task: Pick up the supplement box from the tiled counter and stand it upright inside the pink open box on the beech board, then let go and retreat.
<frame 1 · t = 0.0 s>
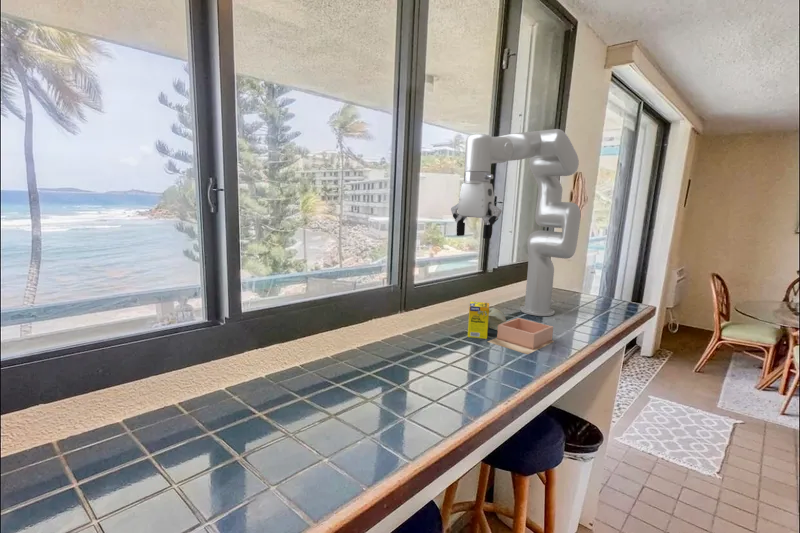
hand: (473, 236, 122), 31 cm above the table, fingers open, 9 cm apart
seashell: (488, 330, 135), on the table
beech board: (520, 345, 120), on the table
supplement box: (477, 339, 125), on the table
pink open box: (524, 340, 122), resting on beech board
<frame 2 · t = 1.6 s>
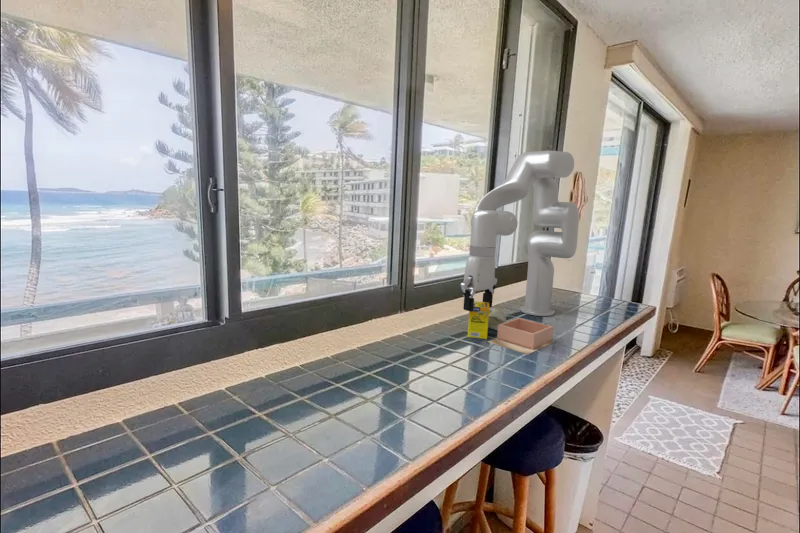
hand: (477, 308, 123), 10 cm above the table, fingers open, 9 cm apart
nothing on the table moved.
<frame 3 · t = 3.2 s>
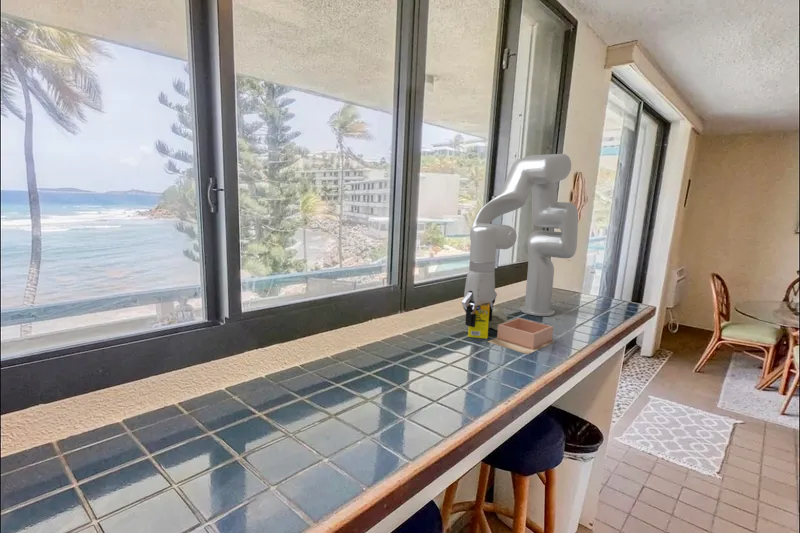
hand: (478, 322, 125), 5 cm above the table, fingers closed on supplement box, 8 cm apart
seashell: (489, 330, 134), on the table, touching gripper
supplement box: (477, 337, 126), on the table, touching gripper
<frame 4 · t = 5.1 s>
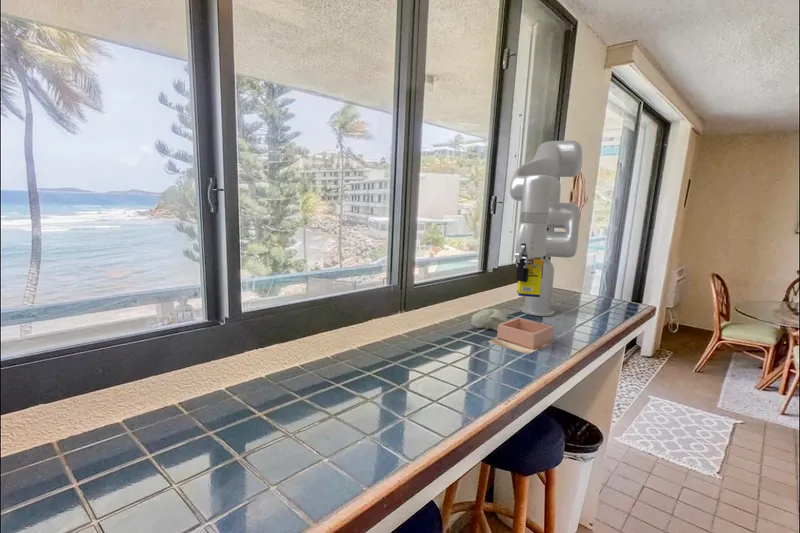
hand: (529, 279, 119), 20 cm above the table, fingers closed on supplement box, 8 cm apart
seashell: (490, 331, 133), on the table
supplement box: (528, 295, 119), point 15 cm above the table, touching gripper
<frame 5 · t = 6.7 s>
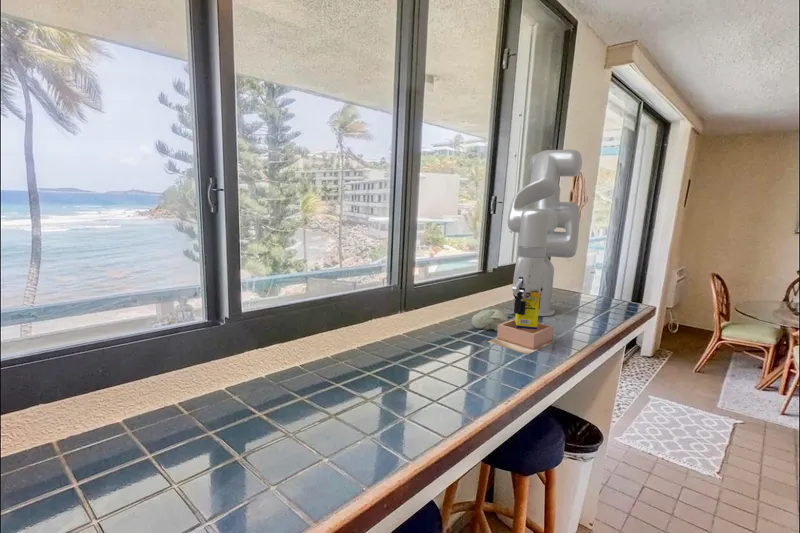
hand: (526, 311, 120), 10 cm above the table, fingers closed on supplement box, 8 cm apart
supplement box: (525, 326, 121), point 5 cm above the table, touching gripper
everything else where it was.
when the fingers open (7 cm above the table, at t = 7.8 s): supplement box stays where it is, resting on pink open box.
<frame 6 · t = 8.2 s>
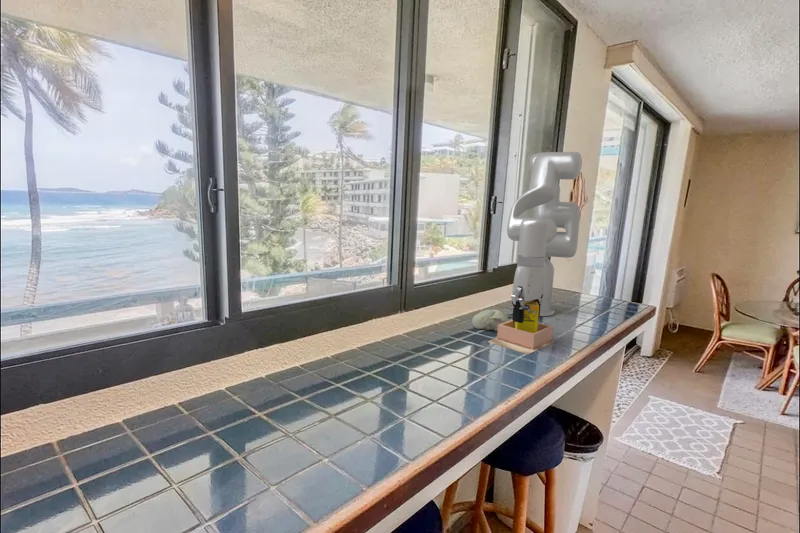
hand: (526, 318, 120), 8 cm above the table, fingers open, 9 cm apart
seashell: (491, 332, 133), on the table, touching beech board
supplement box: (525, 338, 122), point 2 cm above the table, touching pink open box
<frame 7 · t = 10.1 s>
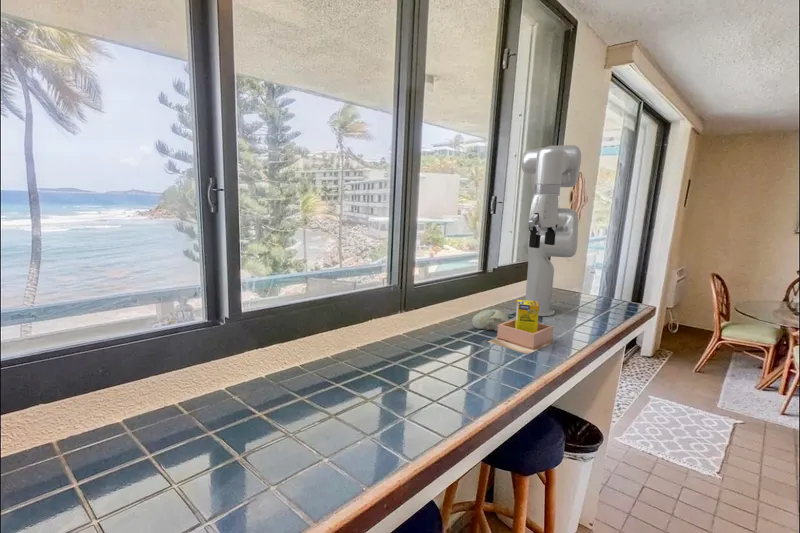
hand: (541, 246, 127), 29 cm above the table, fingers open, 9 cm apart
seashell: (491, 332, 133), on the table
everything else where it was.
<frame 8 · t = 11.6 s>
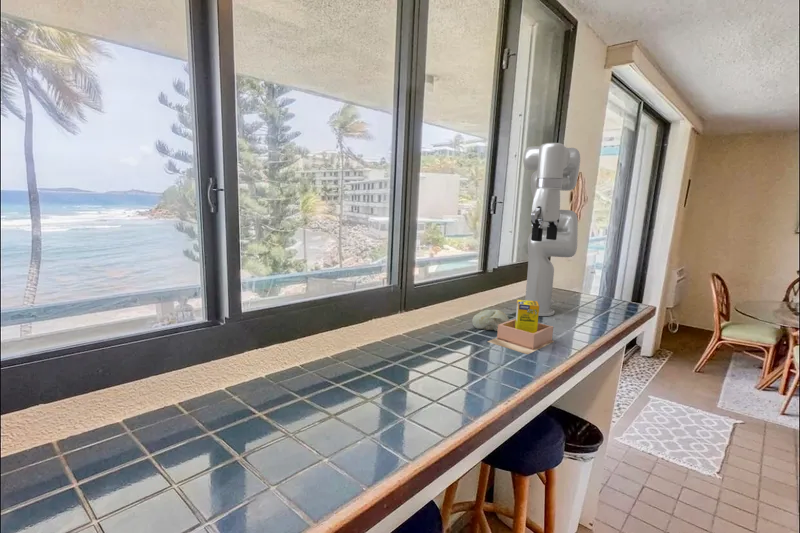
hand: (544, 240, 128), 30 cm above the table, fingers open, 9 cm apart
nothing on the table moved.
at the end: supplement box 0.4 cm from the target spot, point 1.6 cm above the table; supplement box tilted 0°; the gripper is holding nothing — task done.
